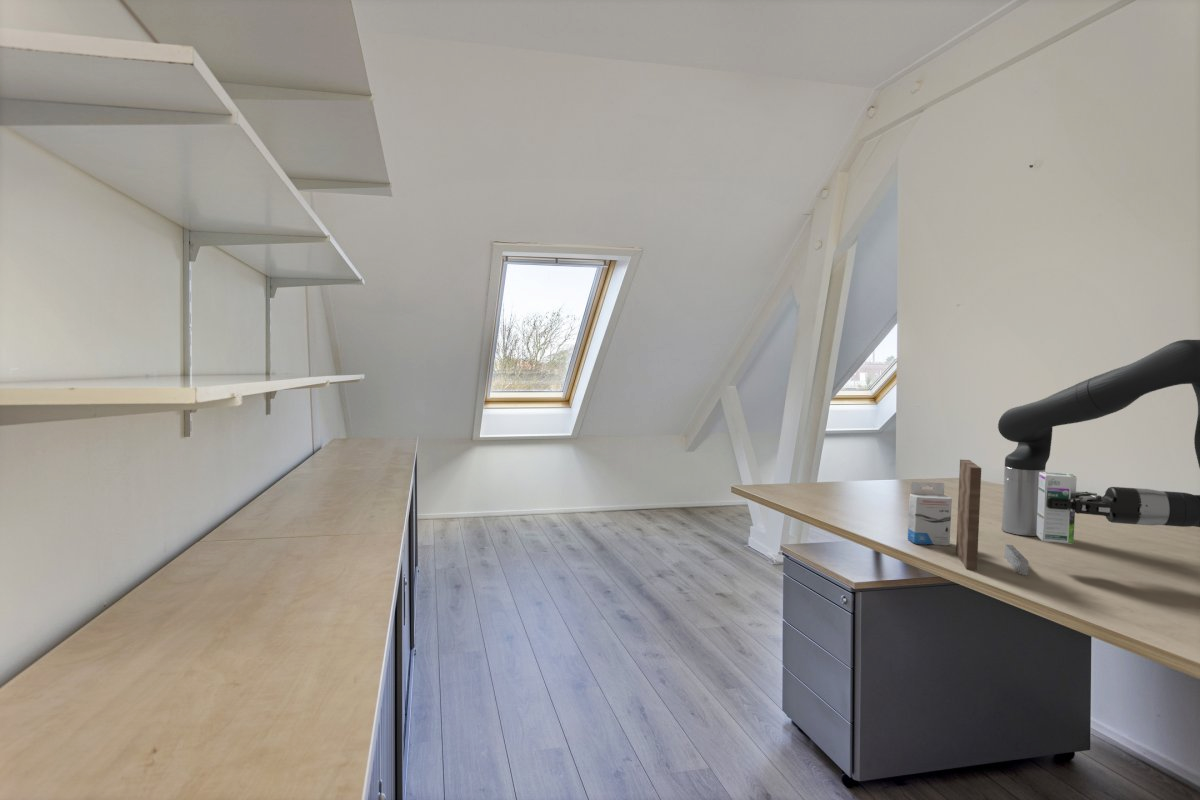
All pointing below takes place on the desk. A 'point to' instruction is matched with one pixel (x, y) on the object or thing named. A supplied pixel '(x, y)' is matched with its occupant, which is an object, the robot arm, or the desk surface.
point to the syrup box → (1055, 521)
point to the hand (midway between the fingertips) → (1043, 499)
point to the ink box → (929, 514)
